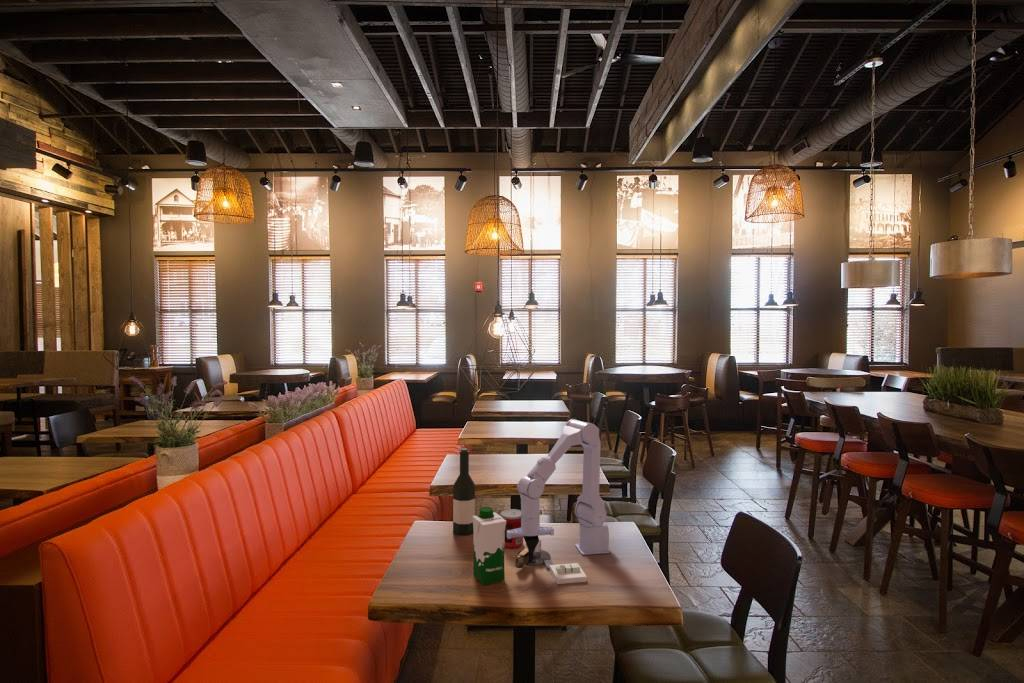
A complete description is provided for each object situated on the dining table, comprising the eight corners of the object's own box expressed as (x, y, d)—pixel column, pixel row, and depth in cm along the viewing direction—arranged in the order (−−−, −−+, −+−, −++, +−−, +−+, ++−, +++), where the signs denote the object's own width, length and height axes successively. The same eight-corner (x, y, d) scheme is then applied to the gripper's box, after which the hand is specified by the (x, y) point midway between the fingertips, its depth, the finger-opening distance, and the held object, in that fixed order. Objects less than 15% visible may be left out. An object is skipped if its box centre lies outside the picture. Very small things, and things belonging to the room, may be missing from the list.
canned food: (524, 540, 190) (524, 509, 189) (522, 550, 182) (522, 517, 181) (502, 539, 191) (502, 508, 190) (499, 549, 183) (499, 516, 182)
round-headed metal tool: (529, 550, 180) (529, 536, 180) (543, 554, 178) (543, 539, 177) (510, 568, 167) (510, 552, 167) (524, 571, 165) (524, 556, 165)
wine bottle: (479, 528, 200) (479, 447, 199) (470, 537, 192) (470, 452, 191) (458, 525, 203) (458, 445, 201) (448, 534, 195) (448, 450, 193)
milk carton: (495, 568, 169) (496, 504, 168) (509, 581, 161) (509, 514, 160) (469, 574, 165) (469, 508, 164) (481, 587, 157) (482, 519, 156)
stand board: (577, 567, 170) (577, 556, 170) (586, 581, 161) (586, 569, 161) (549, 569, 168) (549, 558, 168) (557, 584, 159) (557, 572, 159)
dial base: (545, 549, 183) (545, 546, 183) (557, 569, 169) (557, 565, 169) (513, 551, 181) (513, 548, 181) (522, 571, 167) (522, 568, 167)
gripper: (550, 509, 174) (550, 551, 175) (504, 512, 171) (505, 555, 172) (555, 517, 167) (555, 561, 168) (508, 521, 165) (509, 565, 165)
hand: (530, 558), depth 170 cm, fingers closed, pressing on round-headed metal tool
